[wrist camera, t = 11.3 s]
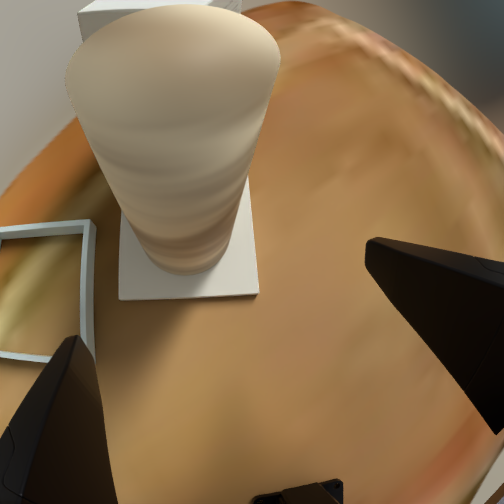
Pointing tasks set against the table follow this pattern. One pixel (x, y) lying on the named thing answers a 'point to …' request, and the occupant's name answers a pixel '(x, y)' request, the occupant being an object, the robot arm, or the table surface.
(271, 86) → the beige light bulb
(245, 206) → the mat
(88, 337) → the light blue square frame
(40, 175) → the table surface
